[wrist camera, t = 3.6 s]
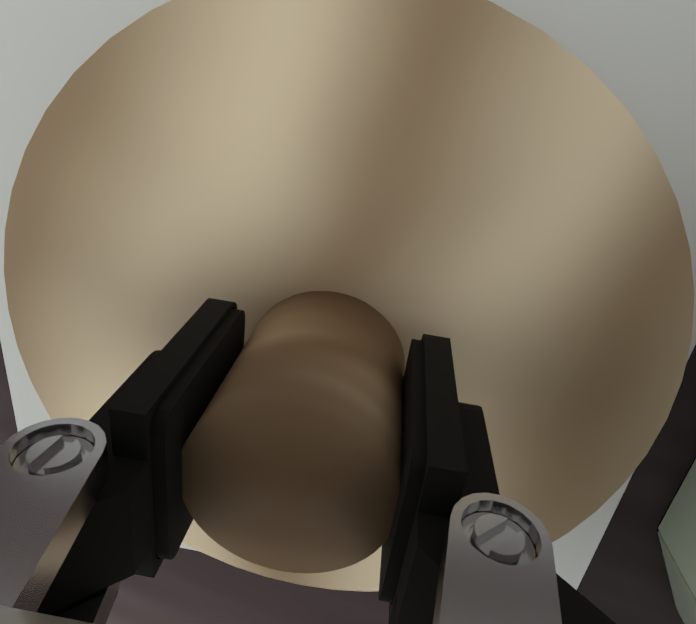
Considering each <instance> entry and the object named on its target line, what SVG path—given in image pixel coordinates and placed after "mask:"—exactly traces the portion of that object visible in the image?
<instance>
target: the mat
mask: <svg viewBox="0 0 696 624" xmlns="http://www.w3.org/2000/svg"><path fill="white" fill-rule="evenodd" d="M169 1H171V0H0V340H1V346H2V351H3V356H4V361H5V366H6V372H7V377H8V382H9V387H10V393H11V398H12V403H13V408H14V413H15V419H16V424H17V429H18V432H19V431H21V430H22V429H24V428H26V427H28V426H30V425H33V424H36V423H39V422H42V421H46V420H51V418H50V416H49V415H48V413H47V411H46V409H45V407H44V405H43V403H42V402H41V400H40V398H39V396H38V394H37V392H36V390H35V388H34V386H33V384H32V383H31V380H30V378H29V375H28V373H27V370H26V367H25V365H24V362H23V360H22V357H21V354H20V352H19V349H18V347H17V343H16V339H15V335H14V331H13V327H12V323H11V319H10V315H9V311H8V303H7V295H6V286H5V277H4V240H5V226H6V221H7V215H8V209H9V203H10V197H11V191H12V188H13V185H14V182H15V179H16V176H17V173H18V170H19V167H20V164H21V161H22V158H23V155H24V152H25V149H26V147H27V145H28V143H29V141H30V139H31V138H32V136H33V134H34V132H35V130H36V128H37V126H38V124H39V122H40V120H41V118H42V116H43V115H44V113H45V111H46V109H47V108H48V106H49V105H50V104H51V102H52V101H53V100H54V98H55V97H56V96H57V94H58V93H59V92H60V90H61V89H62V88H63V86H64V85H65V84H66V82H67V81H68V80H69V78H70V77H71V76H72V74H73V73H74V72H75V71H76V70H77V69H78V68H79V67H80V66H81V65H82V64H83V63H84V62H85V61H86V60H87V59H89V58H90V57H91V56H92V55H93V54H94V53H95V52H96V51H97V50H98V49H99V48H100V47H101V46H102V45H103V44H104V43H105V42H106V41H107V40H108V39H109V38H111V37H112V36H114V35H115V34H117V33H118V32H120V31H121V30H123V29H124V28H126V27H127V26H129V25H130V24H131V23H133V22H134V21H136V20H137V19H139V18H140V17H142V16H143V15H145V14H146V13H148V12H149V11H151V10H152V9H154V8H156V7H158V6H161V5H163V4H165V3H167V2H169ZM489 1H491V2H493V3H495V4H496V5H498V6H500V7H502V8H503V9H505V10H507V11H509V12H510V13H512V14H514V15H516V16H518V17H519V18H521V19H523V20H525V21H526V22H528V23H530V24H532V25H533V26H535V27H537V28H539V29H541V30H542V31H544V32H545V33H546V34H548V35H549V36H550V37H551V38H553V39H554V40H555V41H556V42H558V43H559V44H560V45H561V46H563V47H564V48H565V49H566V50H568V51H569V52H570V53H571V54H573V55H574V56H575V57H577V58H578V59H579V60H580V61H582V62H583V63H584V64H585V65H587V66H588V67H589V68H590V69H591V70H592V71H593V72H594V73H595V75H596V76H597V77H598V78H599V79H600V80H601V81H602V82H603V83H604V84H605V85H606V87H607V88H608V89H609V90H610V91H611V92H612V93H613V94H614V95H615V96H616V97H617V99H618V100H619V101H620V102H621V103H622V104H623V105H624V106H625V107H626V108H627V110H628V111H629V113H630V114H631V116H632V117H633V119H634V120H635V122H636V123H637V125H638V126H639V128H640V129H641V131H642V133H643V134H644V136H645V137H646V139H647V140H648V142H649V143H650V145H651V146H652V148H653V149H654V151H655V152H656V154H657V156H658V158H659V160H660V163H661V165H662V167H663V169H664V172H665V174H666V176H667V178H668V181H669V183H670V185H671V187H672V190H673V192H674V194H675V196H676V199H677V201H678V204H679V208H680V212H681V216H682V220H683V223H684V227H685V231H686V235H687V239H688V242H689V246H690V253H691V263H692V274H693V285H694V310H693V325H692V340H691V344H690V349H689V353H688V357H687V361H688V359H689V357H690V355H691V353H692V351H693V349H694V347H695V345H696V0H489ZM686 363H687V362H686ZM633 473H634V471H633ZM633 473H632V474H631V475H630V477H629V478H628V479H627V481H626V482H625V483H624V484H623V485H622V486H621V487H620V488H619V489H618V490H617V491H616V492H615V493H614V494H613V495H612V496H611V497H610V498H609V499H608V500H607V501H606V502H605V503H604V504H603V505H602V506H601V507H600V508H599V509H598V510H597V511H596V512H595V513H593V514H592V515H591V516H589V517H588V518H587V519H586V520H584V521H583V522H582V523H580V524H579V525H578V526H576V527H575V528H574V529H573V530H571V531H570V532H569V533H567V534H566V535H564V536H562V537H561V538H559V539H557V540H556V541H554V542H552V545H553V552H554V561H555V569H556V573H557V574H558V575H559V576H560V577H561V578H563V579H564V580H565V581H566V582H567V583H569V584H570V585H571V586H572V587H573V588H574V589H576V590H577V588H578V586H579V584H580V582H581V580H582V578H583V576H584V574H585V572H586V570H587V567H588V565H589V563H590V561H591V559H592V557H593V555H594V553H595V551H596V549H597V547H598V545H599V543H600V541H601V539H602V537H603V534H604V532H605V530H606V528H607V526H608V524H609V522H610V520H611V518H612V516H613V514H614V512H615V510H616V508H617V506H618V503H619V501H620V499H621V497H622V495H623V493H624V491H625V489H626V487H627V485H628V483H629V481H630V479H631V477H632V475H633ZM180 548H185V549H191V550H196V551H198V550H197V549H195V548H193V547H191V546H189V545H187V544H186V543H184V542H182V543H181V545H180Z"/></svg>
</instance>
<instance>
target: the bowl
mask: <svg viewBox="0 0 696 624" xmlns="http://www.w3.org/2000/svg"><path fill="white" fill-rule="evenodd" d="M658 529H659V531H658V536H659V540H660V544H661V548H662V552H663V556H664V560H665V565H666V569H667V573H668V577H669V581H670V585H671V589H672V593H673V597H674V602H675V606H676V608H677V610H678V612H679V614H680V616H681V618H682V620H683V622H684V624H696V459H695V461H694V463H693V465H692V467H691V469H690V470H689V472H688V474H687V476H686V478H685V480H684V481H683V483H682V485H681V487H680V489H679V491H678V492H677V494H676V496H675V498H674V500H673V502H672V503H671V505H670V507H669V509H668V511H667V513H666V514H665V516H664V518H663V520H662V522H661V524H660V525H659V527H658Z"/></svg>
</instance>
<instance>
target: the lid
mask: <svg viewBox="0 0 696 624" xmlns="http://www.w3.org/2000/svg"><path fill="white" fill-rule="evenodd" d="M4 277H5V286H6V295H7V303H8V311H9V315H10V319H11V323H12V327H13V331H14V335H15V339H16V343H17V347H18V349H19V352H20V354H21V357H22V360H23V362H24V365H25V367H26V370H27V373H28V375H29V378H30V380H31V383H32V384H33V386H34V388H35V390H36V392H37V394H38V396H39V398H40V400H41V402H42V403H43V405H44V407H45V409H46V411H47V413H48V415H49V416H50V418H51V419H57V418H79V419H84V420H90V418H91V417H92V416H93V415H94V414H95V413H96V412H97V411H98V410H99V409H100V408H101V407H102V406H103V404H104V403H105V402H106V401H107V400H108V399H109V398H110V397H111V396H112V395H113V394H114V393H115V391H116V390H117V389H118V388H119V387H120V386H121V385H122V384H123V383H124V382H125V381H126V380H127V379H128V377H129V376H130V375H131V374H132V373H133V372H134V371H135V370H136V369H137V368H138V367H139V366H140V365H141V363H142V362H143V361H144V360H145V359H146V358H147V357H148V356H149V355H150V354H151V353H152V352H154V351H156V350H162V349H163V348H164V347H165V345H166V344H167V343H168V342H169V341H170V340H171V339H172V338H173V337H174V335H175V334H176V333H177V332H178V331H179V330H180V329H181V328H182V327H183V325H184V324H185V323H186V322H187V321H188V320H189V319H190V318H191V317H192V315H193V314H194V313H195V312H196V311H197V310H198V309H199V308H200V307H201V305H202V304H203V303H204V302H205V301H206V300H207V299H208V298H213V299H219V300H225V301H231V302H236V304H237V309H238V310H244V312H245V334H244V347H243V349H242V351H241V352H240V354H239V356H238V357H237V359H236V360H235V362H234V364H233V365H232V367H231V369H230V370H229V372H228V373H227V375H226V377H225V378H224V380H223V382H222V383H221V385H220V386H219V388H218V390H217V391H216V393H215V395H214V396H213V398H212V400H211V401H210V403H209V404H208V406H207V408H206V409H205V411H204V413H203V414H202V416H201V417H200V419H199V421H198V422H197V424H196V426H195V427H194V429H193V430H192V432H191V434H190V435H189V437H188V439H187V440H186V442H185V444H184V446H183V448H182V451H181V455H182V499H183V501H184V503H185V506H186V508H187V510H188V511H189V513H190V514H191V516H192V518H193V521H192V523H191V525H190V527H189V529H188V531H187V533H186V535H185V537H184V539H183V541H182V542H184V543H186V544H187V545H189V546H191V547H193V548H195V549H197V550H198V551H200V552H202V553H204V554H207V555H209V556H211V557H214V558H216V559H218V560H221V561H223V562H225V563H228V564H230V565H232V566H235V567H238V568H241V569H244V570H247V571H250V572H253V573H256V574H259V575H262V576H265V577H269V578H273V579H277V580H282V581H286V582H290V583H294V584H299V585H305V586H312V587H319V588H326V589H333V590H349V591H367V592H368V591H379V581H380V567H381V552H382V545H383V544H384V543H385V541H386V540H387V539H388V537H389V535H390V531H391V527H392V522H393V518H394V513H395V509H396V505H397V500H398V496H399V492H400V466H401V439H402V411H403V384H404V373H405V368H406V363H407V358H408V354H409V349H410V344H411V340H412V339H417V340H421V338H422V335H423V334H428V335H434V336H440V337H446V338H450V341H451V349H452V357H453V364H454V372H455V380H456V387H457V395H458V402H461V403H467V404H473V405H478V406H481V407H482V410H483V413H484V418H485V423H486V428H487V433H488V438H489V443H490V448H491V453H492V458H493V463H494V468H495V473H496V478H497V484H498V489H499V494H500V495H502V496H504V497H507V498H509V499H512V500H515V501H516V502H518V503H520V504H521V505H523V506H524V507H526V508H527V509H529V510H530V511H531V512H532V513H533V514H534V515H535V516H536V517H537V518H538V519H539V520H541V522H542V524H543V525H544V527H545V528H546V530H547V531H548V533H549V535H550V539H551V542H554V541H556V540H557V539H559V538H561V537H562V536H564V535H566V534H567V533H569V532H570V531H571V530H573V529H574V528H575V527H576V526H578V525H579V524H580V523H582V522H583V521H584V520H586V519H587V518H588V517H589V516H591V515H592V514H593V513H595V512H596V511H597V510H598V509H599V508H600V507H601V506H602V505H603V504H604V503H605V502H606V501H607V500H608V499H609V498H610V497H611V496H612V495H613V494H614V493H615V492H616V491H617V490H618V489H619V488H620V487H621V486H622V485H623V484H624V483H625V482H626V481H627V479H628V478H629V477H630V475H631V474H632V473H633V471H634V470H635V469H636V468H637V466H638V465H639V464H640V462H641V461H642V460H643V459H644V457H645V456H646V455H647V453H648V452H649V450H650V448H651V446H652V445H653V443H654V441H655V439H656V438H657V436H658V434H659V432H660V431H661V429H662V427H663V425H664V424H665V422H666V420H667V418H668V416H669V413H670V410H671V408H672V405H673V403H674V400H675V398H676V395H677V393H678V390H679V388H680V385H681V383H682V379H683V375H684V370H685V366H686V362H687V357H688V353H689V349H690V344H691V340H692V325H693V310H694V285H693V274H692V263H691V253H690V246H689V242H688V239H687V235H686V231H685V227H684V223H683V220H682V216H681V212H680V208H679V204H678V201H677V199H676V196H675V194H674V192H673V190H672V187H671V185H670V183H669V181H668V178H667V176H666V174H665V172H664V169H663V167H662V165H661V163H660V160H659V158H658V156H657V154H656V152H655V151H654V149H653V148H652V146H651V145H650V143H649V142H648V140H647V139H646V137H645V136H644V134H643V133H642V131H641V129H640V128H639V126H638V125H637V123H636V122H635V120H634V119H633V117H632V116H631V114H630V113H629V111H628V110H627V108H626V107H625V106H624V105H623V104H622V103H621V102H620V101H619V100H618V99H617V97H616V96H615V95H614V94H613V93H612V92H611V91H610V90H609V89H608V88H607V87H606V85H605V84H604V83H603V82H602V81H601V80H600V79H599V78H598V77H597V76H596V75H595V73H594V72H593V71H592V70H591V69H590V68H589V67H588V66H587V65H585V64H584V63H583V62H582V61H580V60H579V59H578V58H577V57H575V56H574V55H573V54H571V53H570V52H569V51H568V50H566V49H565V48H564V47H563V46H561V45H560V44H559V43H558V42H556V41H555V40H554V39H553V38H551V37H550V36H549V35H548V34H546V33H545V32H544V31H542V30H541V29H539V28H537V27H535V26H533V25H532V24H530V23H528V22H526V21H525V20H523V19H521V18H519V17H518V16H516V15H514V14H512V13H510V12H509V11H507V10H505V9H503V8H502V7H500V6H498V5H496V4H495V3H493V2H491V1H489V0H171V1H169V2H167V3H165V4H163V5H161V6H158V7H156V8H154V9H152V10H151V11H149V12H148V13H146V14H145V15H143V16H142V17H140V18H139V19H137V20H136V21H134V22H133V23H131V24H130V25H129V26H127V27H126V28H124V29H123V30H121V31H120V32H118V33H117V34H115V35H114V36H112V37H111V38H109V39H108V40H107V41H106V42H105V43H104V44H103V45H102V46H101V47H100V48H99V49H98V50H97V51H96V52H95V53H94V54H93V55H92V56H91V57H90V58H89V59H87V60H86V61H85V62H84V63H83V64H82V65H81V66H80V67H79V68H78V69H77V70H76V71H75V72H74V73H73V74H72V76H71V77H70V78H69V80H68V81H67V82H66V84H65V85H64V86H63V88H62V89H61V90H60V92H59V93H58V94H57V96H56V97H55V98H54V100H53V101H52V102H51V104H50V105H49V106H48V108H47V109H46V111H45V113H44V115H43V116H42V118H41V120H40V122H39V124H38V126H37V128H36V130H35V132H34V134H33V136H32V138H31V139H30V141H29V143H28V145H27V147H26V149H25V152H24V155H23V158H22V161H21V164H20V167H19V170H18V173H17V176H16V179H15V182H14V185H13V188H12V191H11V197H10V203H9V209H8V215H7V221H6V226H5V240H4Z"/></svg>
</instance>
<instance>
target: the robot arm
mask: <svg viewBox="0 0 696 624" xmlns="http://www.w3.org/2000/svg"><path fill="white" fill-rule="evenodd" d="M244 334H245V312H244V310H238V309H237V304H236V302H231V301H225V300H219V299H213V298H208V299H207V300H206V301H205V302H204V303H203V304H202V305H201V307H200V308H199V309H198V310H197V311H196V312H195V313H194V314H193V315H192V317H191V318H190V319H189V320H188V321H187V322H186V323H185V324H184V325H183V327H182V328H181V329H180V330H179V331H178V332H177V333H176V334H175V335H174V337H173V338H172V339H171V340H170V341H169V342H168V343H167V344H166V345H165V347H164V348H163V349H162V350H156V351H154V352H152V353H151V354H150V355H149V356H148V357H147V358H146V359H145V360H144V361H143V362H142V363H141V365H140V366H139V367H138V368H137V369H136V370H135V371H134V372H133V373H132V374H131V375H130V376H129V377H128V379H127V380H126V381H125V382H124V383H123V384H122V385H121V386H120V387H119V388H118V389H117V390H116V391H115V393H114V394H113V395H112V396H111V397H110V398H109V399H108V400H107V401H106V402H105V403H104V404H103V406H102V407H101V408H100V409H99V410H98V411H97V412H96V413H95V414H94V415H93V416H92V417H91V418H90V420H84V419H79V418H57V419H51V420H46V421H42V422H39V423H36V424H33V425H30V426H28V427H26V428H24V429H22V430H21V431H19V432H17V433H15V434H14V435H12V436H11V437H10V438H9V439H8V440H7V441H6V442H5V443H3V444H2V446H1V447H0V624H105V623H106V621H107V618H108V616H109V613H110V611H111V609H112V606H113V604H114V601H115V599H116V596H117V594H118V589H119V585H120V581H122V580H124V579H126V578H128V577H130V576H132V575H134V574H137V575H142V576H147V577H152V578H154V577H155V575H156V573H157V571H158V569H159V567H160V565H161V563H162V561H163V559H164V558H165V559H170V560H171V559H173V558H174V557H175V555H176V553H177V552H178V550H179V547H180V545H181V543H182V541H183V539H184V537H185V535H186V533H187V531H188V529H189V527H190V525H191V523H192V521H193V518H192V516H191V514H190V513H189V511H188V510H187V508H186V506H185V503H184V501H183V499H182V455H181V451H182V448H183V446H184V444H185V442H186V440H187V439H188V437H189V435H190V434H191V432H192V430H193V429H194V427H195V426H196V424H197V422H198V421H199V419H200V417H201V416H202V414H203V413H204V411H205V409H206V408H207V406H208V404H209V403H210V401H211V400H212V398H213V396H214V395H215V393H216V391H217V390H218V388H219V386H220V385H221V383H222V382H223V380H224V378H225V377H226V375H227V373H228V372H229V370H230V369H231V367H232V365H233V364H234V362H235V360H236V359H237V357H238V356H239V354H240V352H241V351H242V349H243V347H244ZM379 600H382V601H387V602H390V605H389V624H616V623H614V622H613V621H612V620H611V619H610V618H608V617H607V616H606V615H605V614H604V613H603V612H601V611H600V610H599V609H598V608H597V607H596V606H594V605H593V604H592V603H591V602H590V601H588V600H587V599H586V598H585V597H584V596H583V595H581V594H580V593H579V592H578V591H577V590H576V589H574V588H573V587H572V586H571V585H570V584H569V583H567V582H566V581H565V580H564V579H563V578H561V577H560V576H559V575H558V574H557V573H556V569H555V561H554V552H553V545H552V542H551V539H550V535H549V533H548V531H547V530H546V528H545V527H544V525H543V524H542V522H541V520H539V519H538V518H537V517H536V516H535V515H534V514H533V513H532V512H531V511H530V510H529V509H527V508H526V507H524V506H523V505H521V504H520V503H518V502H516V501H515V500H512V499H509V498H507V497H504V496H502V495H500V494H499V489H498V484H497V478H496V473H495V468H494V463H493V458H492V453H491V448H490V443H489V438H488V433H487V428H486V423H485V418H484V413H483V410H482V407H481V406H478V405H473V404H467V403H461V402H458V395H457V387H456V380H455V372H454V364H453V357H452V349H451V341H450V338H446V337H440V336H434V335H428V334H423V335H422V338H421V340H417V339H412V340H411V344H410V349H409V354H408V358H407V363H406V368H405V373H404V384H403V411H402V439H401V466H400V492H399V496H398V500H397V505H396V509H395V513H394V518H393V522H392V527H391V531H390V535H389V537H388V539H387V540H386V541H385V543H384V544H383V545H382V552H381V567H380V581H379Z"/></svg>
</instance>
